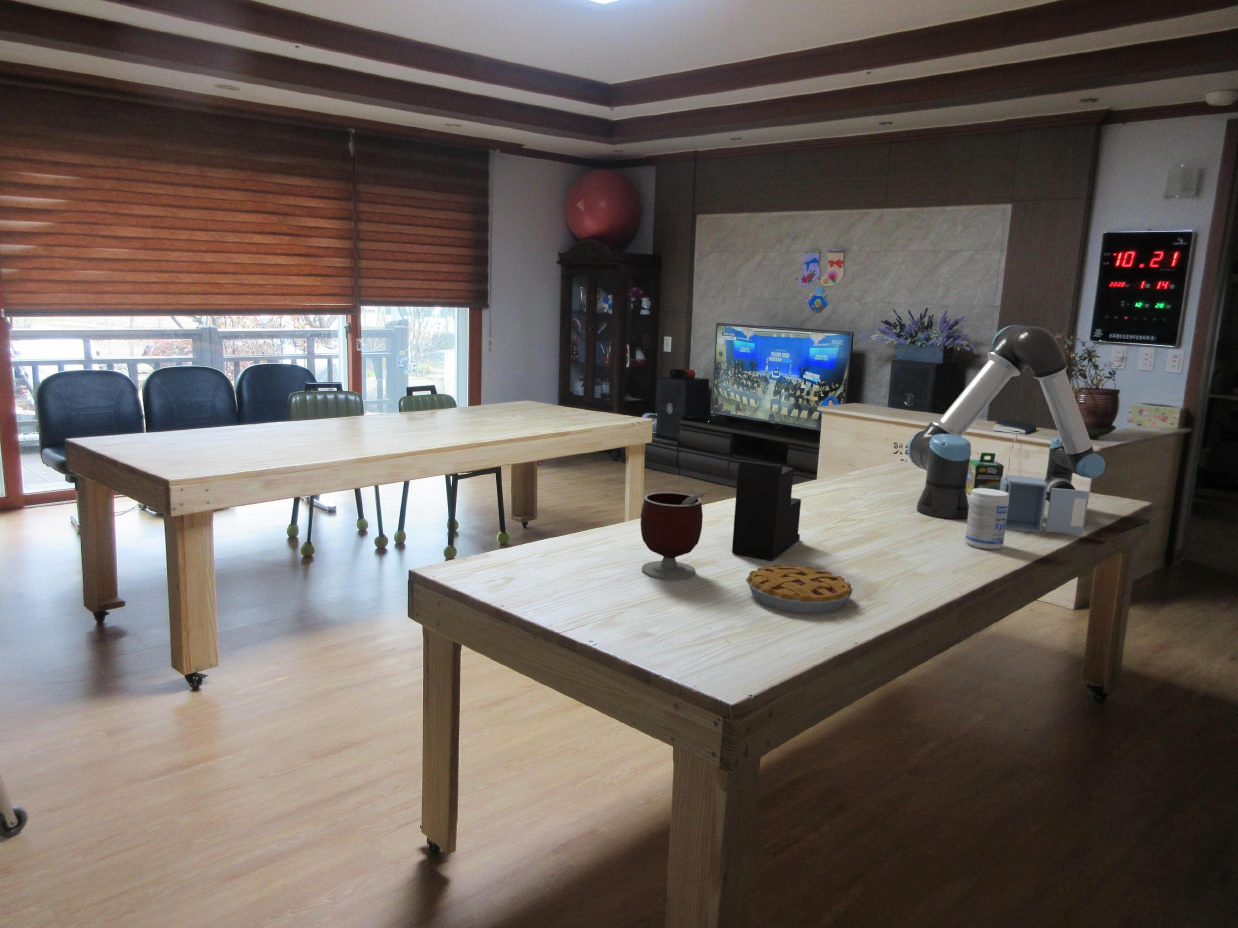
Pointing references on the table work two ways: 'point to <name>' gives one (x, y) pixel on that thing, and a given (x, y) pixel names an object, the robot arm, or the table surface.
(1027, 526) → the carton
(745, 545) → the black stepped block
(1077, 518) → the right flap
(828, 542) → the table surface
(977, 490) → the supplement tub
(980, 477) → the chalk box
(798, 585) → the pie
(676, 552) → the mate gourd
